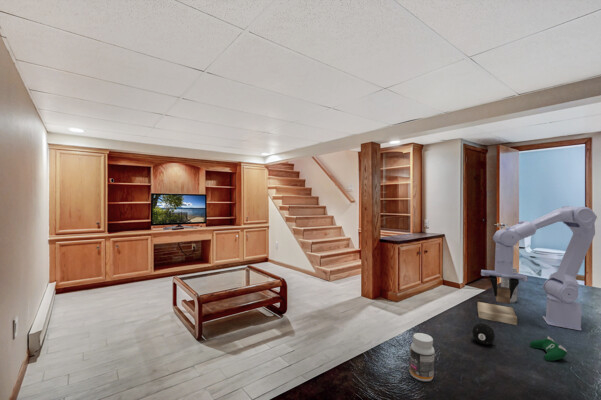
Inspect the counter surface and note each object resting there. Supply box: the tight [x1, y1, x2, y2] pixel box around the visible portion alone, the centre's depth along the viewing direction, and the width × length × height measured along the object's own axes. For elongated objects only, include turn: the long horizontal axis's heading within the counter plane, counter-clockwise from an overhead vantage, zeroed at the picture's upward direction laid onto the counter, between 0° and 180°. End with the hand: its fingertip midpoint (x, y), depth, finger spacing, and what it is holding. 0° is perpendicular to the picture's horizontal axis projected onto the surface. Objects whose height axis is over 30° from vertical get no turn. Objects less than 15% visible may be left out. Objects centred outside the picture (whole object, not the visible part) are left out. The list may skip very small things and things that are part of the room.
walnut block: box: [495, 285, 510, 305], centre depth 114 cm, size 4×4×5 cm
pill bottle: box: [409, 332, 436, 382], centre depth 76 cm, size 6×6×10 cm
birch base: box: [476, 301, 518, 326], centre depth 117 cm, size 12×12×3 cm
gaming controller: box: [529, 335, 568, 362], centre depth 88 cm, size 9×4×6 cm
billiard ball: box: [471, 322, 496, 345], centre depth 94 cm, size 6×6×6 cm
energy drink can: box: [500, 267, 519, 304], centre depth 135 cm, size 6×6×15 cm
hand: (502, 296), depth 114 cm, fingers closed on walnut block, 4 cm apart
